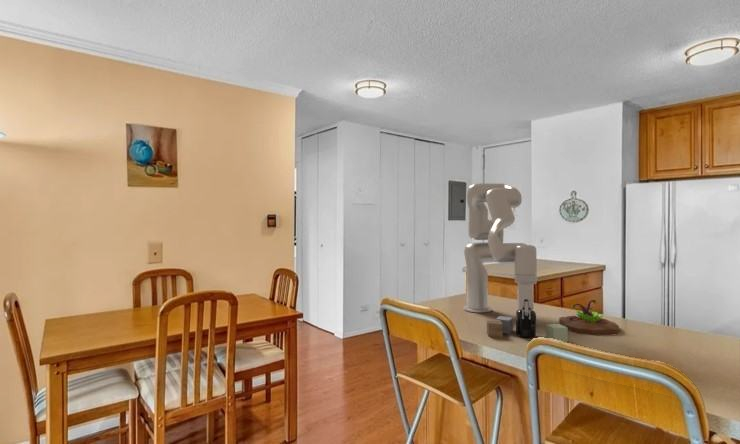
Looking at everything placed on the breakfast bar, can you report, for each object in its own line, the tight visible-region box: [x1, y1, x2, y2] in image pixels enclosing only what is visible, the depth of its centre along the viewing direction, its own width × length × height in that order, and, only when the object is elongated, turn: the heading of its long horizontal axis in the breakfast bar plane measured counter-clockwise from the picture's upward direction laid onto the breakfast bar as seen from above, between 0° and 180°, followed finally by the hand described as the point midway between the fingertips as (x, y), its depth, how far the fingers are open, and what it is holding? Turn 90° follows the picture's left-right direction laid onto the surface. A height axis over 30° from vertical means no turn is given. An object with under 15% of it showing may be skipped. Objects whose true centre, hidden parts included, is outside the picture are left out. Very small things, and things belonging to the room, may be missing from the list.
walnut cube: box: [486, 319, 504, 338], centre depth 145 cm, size 5×5×5 cm
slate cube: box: [495, 315, 514, 335], centre depth 149 cm, size 5×5×5 cm
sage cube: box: [545, 323, 569, 343], centre depth 138 cm, size 5×5×5 cm
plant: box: [558, 299, 620, 336], centre depth 152 cm, size 20×20×11 cm
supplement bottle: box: [515, 307, 537, 339], centre depth 143 cm, size 7×7×12 cm
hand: (525, 326), depth 143 cm, fingers closed on supplement bottle, 6 cm apart
